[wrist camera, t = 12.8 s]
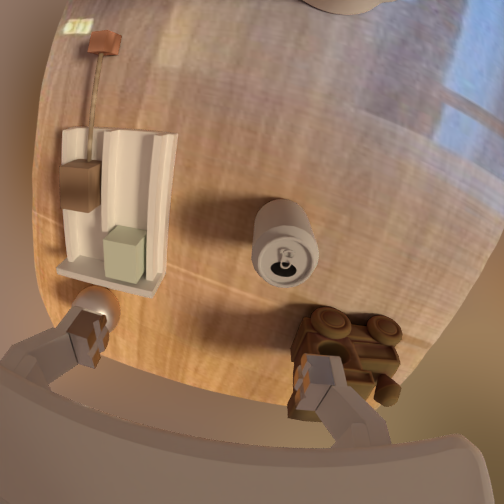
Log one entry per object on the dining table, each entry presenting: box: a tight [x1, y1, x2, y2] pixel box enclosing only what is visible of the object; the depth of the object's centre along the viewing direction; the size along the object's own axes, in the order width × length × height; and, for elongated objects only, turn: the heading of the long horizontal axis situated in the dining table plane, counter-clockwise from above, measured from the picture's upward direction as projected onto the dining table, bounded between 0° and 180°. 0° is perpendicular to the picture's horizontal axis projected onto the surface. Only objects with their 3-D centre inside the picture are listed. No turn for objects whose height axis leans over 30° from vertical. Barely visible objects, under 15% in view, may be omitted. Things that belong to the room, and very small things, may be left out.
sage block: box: [103, 225, 147, 284], centre depth 40 cm, size 6×5×5 cm
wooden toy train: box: [287, 307, 402, 422], centre depth 44 cm, size 20×11×17 cm, turn 78°
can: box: [252, 199, 319, 288], centre depth 37 cm, size 8×8×12 cm
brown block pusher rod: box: [59, 30, 122, 213], centre depth 32 cm, size 24×5×7 cm, turn 169°
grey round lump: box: [72, 286, 120, 333], centre depth 45 cm, size 9×10×10 cm
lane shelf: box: [56, 126, 178, 298], centre depth 38 cm, size 22×17×7 cm
